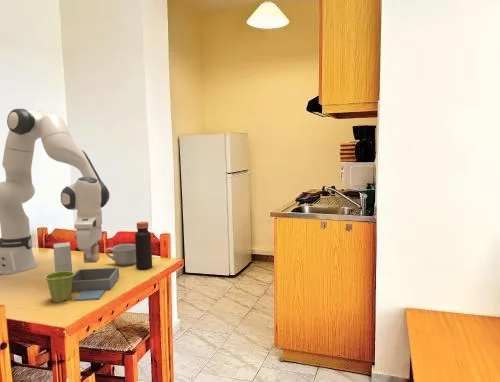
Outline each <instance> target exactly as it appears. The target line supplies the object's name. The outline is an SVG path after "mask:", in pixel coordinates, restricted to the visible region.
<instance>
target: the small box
mask: <svg viewBox="0 0 500 382" xmlns="http://www.w3.org/2000/svg"><path fill="white" fill-rule="evenodd" d="M71 249H72V248H71V243H70V242H69V241H68V242H58V243H57V242H56V243H53V255H54V256H53V257H54V259H53V261H54V273H55V272H62V271H70V272H73V265H72V250H71Z"/></svg>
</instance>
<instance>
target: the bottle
mask: <svg viewBox="0 0 500 382" xmlns="http://www.w3.org/2000/svg"><path fill="white" fill-rule="evenodd" d="M136 229H137V231H136V232H135V234H134V245H135V248H136V261H135V265H136V266H135V268H136V269H137V270H139V269H140V270H142V271H143V270H144V269H145V270H149V268H150V269H152V268H153V255H152V253H153V251H152V233H151V232H150V231H149V221H139V222H136ZM151 267H152V268H151Z"/></svg>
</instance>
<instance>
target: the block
mask: <svg viewBox="0 0 500 382" xmlns="http://www.w3.org/2000/svg"><path fill="white" fill-rule="evenodd" d="M82 252H83V255H82V256H83V264H95V263H97V262H98V261H99V260H100V245H99V244H98V243H97V244H94V245H93V246H92V247H91V253H92V257H91V258H86V253H85V250H82Z"/></svg>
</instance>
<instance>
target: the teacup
mask: <svg viewBox="0 0 500 382" xmlns="http://www.w3.org/2000/svg"><path fill="white" fill-rule="evenodd" d="M109 251H111V253H112V254H113V255H111V254H110V253H109ZM104 253H105V255H106V257H107V258H110V259H112V261H114V263H116V264H117V265H118V266H123V267H124V266H131V265H133V264H134V263H136V248H135V243H133V244H132V243H121V244H117V245H114V246H113V247H107V248H106V249H105V252H104Z"/></svg>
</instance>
